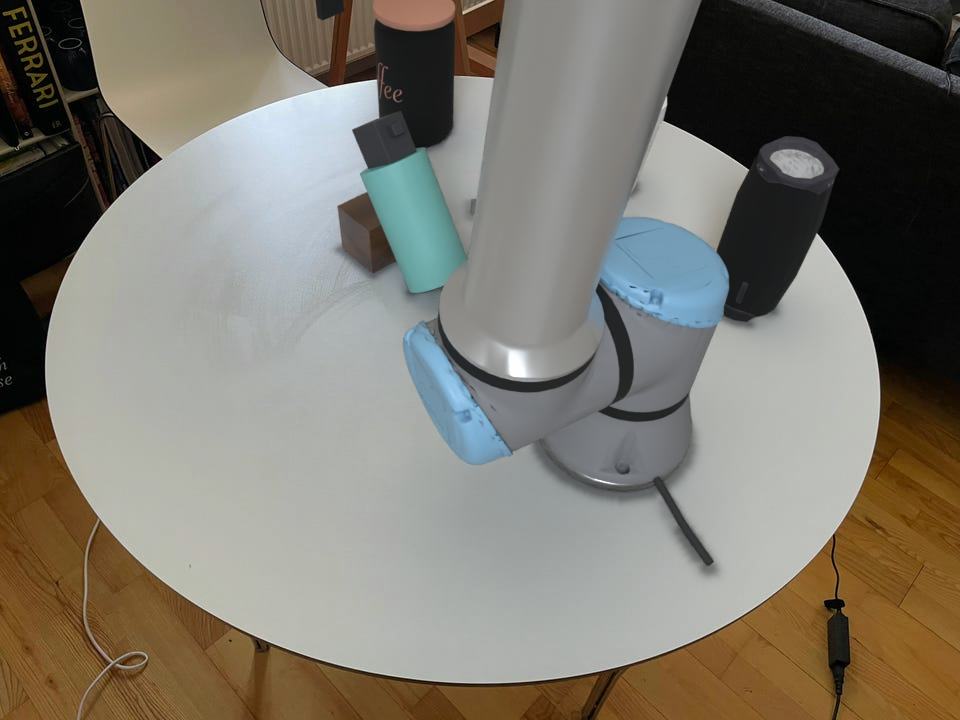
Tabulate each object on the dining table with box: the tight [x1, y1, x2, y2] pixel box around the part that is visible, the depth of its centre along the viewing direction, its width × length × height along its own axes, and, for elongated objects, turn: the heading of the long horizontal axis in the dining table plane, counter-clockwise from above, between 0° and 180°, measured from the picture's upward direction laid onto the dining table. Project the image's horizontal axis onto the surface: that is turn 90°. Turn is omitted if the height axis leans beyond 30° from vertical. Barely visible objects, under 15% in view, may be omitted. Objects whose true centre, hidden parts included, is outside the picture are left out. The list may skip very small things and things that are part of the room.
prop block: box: [337, 191, 397, 274], centre depth 91 cm, size 6×8×6 cm
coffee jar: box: [372, 0, 456, 149], centre depth 104 cm, size 11×11×18 cm
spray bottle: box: [351, 111, 468, 294], centre depth 83 cm, size 15×8×19 cm, turn 43°
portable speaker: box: [715, 135, 840, 323], centre depth 82 cm, size 9×9×20 cm
